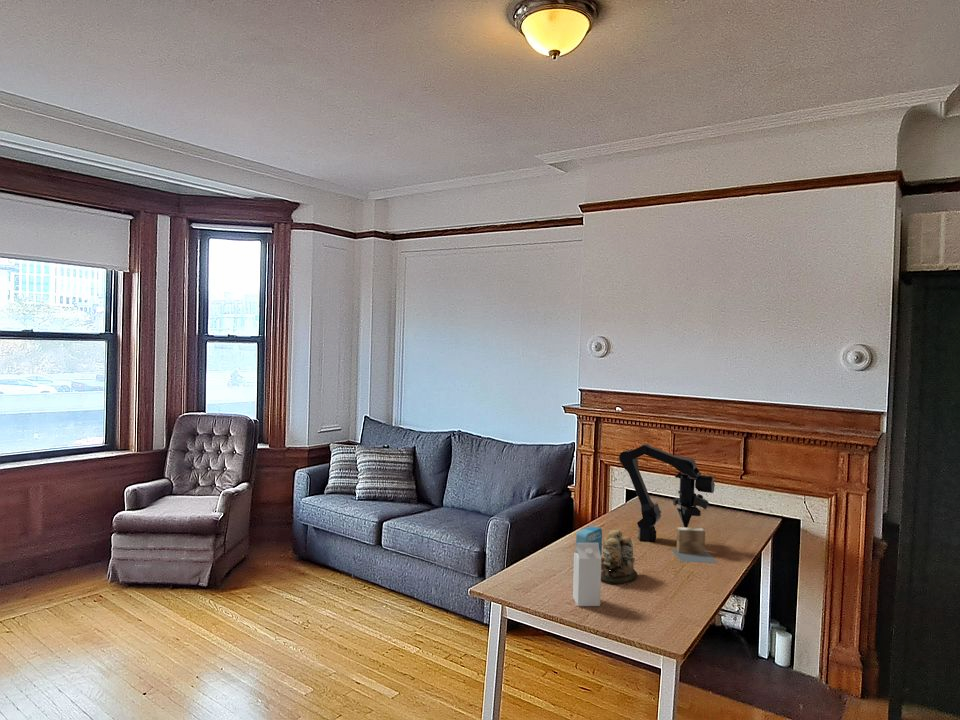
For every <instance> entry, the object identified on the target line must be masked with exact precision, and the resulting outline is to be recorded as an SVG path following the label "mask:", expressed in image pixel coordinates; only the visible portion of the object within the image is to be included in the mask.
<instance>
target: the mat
mask: <svg viewBox="0 0 960 720" xmlns="http://www.w3.org/2000/svg"><path fill="white" fill-rule="evenodd" d="M670 550H671V552H672V553H673V554H674V555H675V556H676V557H677V559H678V560H679V561H680V562H681V563H685V562H686V563H705V564H706V563H708V564H710V563H711V564H712V563H713V564H718V563H719V562H718V560H716V559H715V557H713V556H712V555H711V554H710V552H708V551H707V550H705V552H704V554H693V553H678V551H677V548H671V549H670Z"/></svg>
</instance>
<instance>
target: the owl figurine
mask: <svg viewBox="0 0 960 720" xmlns="http://www.w3.org/2000/svg"><path fill="white" fill-rule="evenodd" d="M632 541H633V540H632V538H631V536H628V535H624V536H623V533H622V531H621V530H620V529H611V530H609V532H608V533H607V535H606V537H605V538H604V540H603V541H602V554H603V555H602V556H603V557H604V561H603V562H601V566H603V568H604V569H603V570H601V582H605V583H608V584H610V585H614V586H621V585H624V584H625V585H626V584H632V583H633V582H635V581H636V580H637V579H638V572H637V571H636V570H635V568H634V563H635V561H636V559H635V557H634V547H633V546H634V544H633V542H632ZM609 570H611V571H609Z"/></svg>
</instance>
